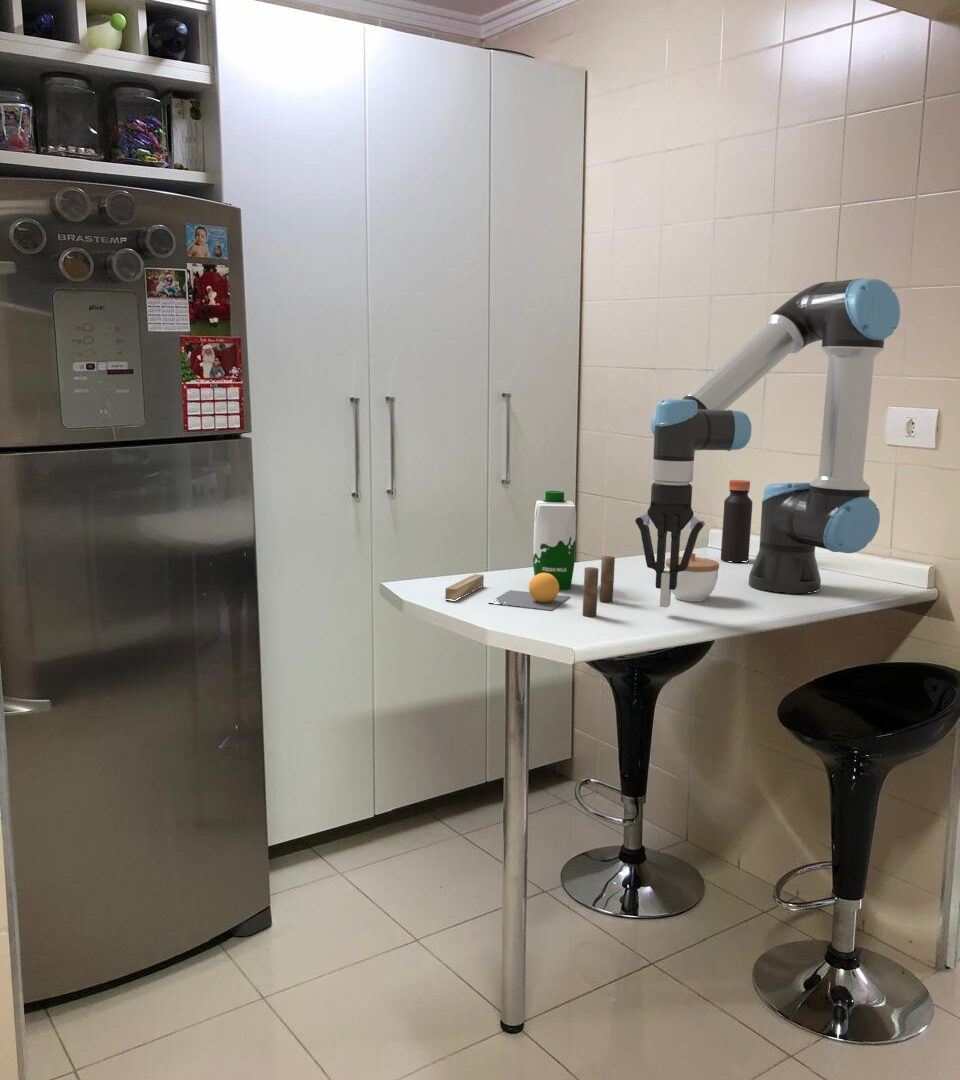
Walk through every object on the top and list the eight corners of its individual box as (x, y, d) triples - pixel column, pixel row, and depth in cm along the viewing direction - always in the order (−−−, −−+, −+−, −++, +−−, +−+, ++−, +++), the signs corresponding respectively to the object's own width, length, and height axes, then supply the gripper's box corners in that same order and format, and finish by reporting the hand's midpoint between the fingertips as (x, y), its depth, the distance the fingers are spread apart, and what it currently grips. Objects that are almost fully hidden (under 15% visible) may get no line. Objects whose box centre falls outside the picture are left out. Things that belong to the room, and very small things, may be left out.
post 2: (614, 600, 206) (616, 556, 204) (611, 603, 203) (613, 558, 202) (601, 599, 206) (603, 555, 205) (598, 601, 204) (600, 557, 203)
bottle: (754, 562, 252) (760, 481, 249) (734, 564, 248) (740, 482, 245) (734, 557, 258) (739, 478, 254) (714, 559, 254) (719, 479, 251)
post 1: (597, 614, 193) (600, 568, 192) (594, 617, 191) (596, 570, 190) (584, 613, 194) (586, 566, 193) (581, 615, 192) (583, 569, 190)
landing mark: (570, 597, 207) (570, 596, 207) (551, 610, 195) (551, 609, 195) (510, 590, 212) (510, 590, 212) (488, 603, 200) (488, 602, 200)
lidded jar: (716, 594, 214) (719, 550, 212) (717, 606, 203) (720, 559, 202) (664, 591, 216) (667, 547, 214) (662, 602, 206) (665, 556, 204)
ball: (546, 564, 204) (527, 585, 206) (538, 569, 198) (519, 591, 200) (568, 584, 203) (548, 605, 205) (561, 590, 197) (541, 612, 199)
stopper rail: (483, 586, 216) (483, 574, 215) (454, 601, 201) (454, 589, 200) (474, 585, 216) (474, 574, 216) (445, 600, 201) (445, 588, 201)
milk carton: (570, 582, 223) (574, 491, 219) (575, 591, 214) (579, 496, 210) (530, 581, 222) (533, 490, 219) (533, 590, 213) (537, 495, 210)
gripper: (710, 482, 191) (702, 605, 195) (641, 478, 196) (635, 598, 200) (704, 486, 184) (696, 613, 188) (633, 482, 189) (626, 606, 193)
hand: (665, 605), depth 194 cm, fingers closed
